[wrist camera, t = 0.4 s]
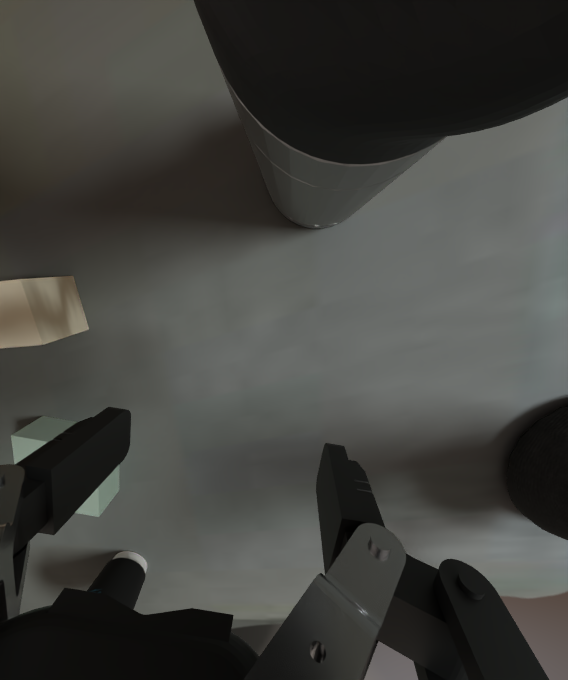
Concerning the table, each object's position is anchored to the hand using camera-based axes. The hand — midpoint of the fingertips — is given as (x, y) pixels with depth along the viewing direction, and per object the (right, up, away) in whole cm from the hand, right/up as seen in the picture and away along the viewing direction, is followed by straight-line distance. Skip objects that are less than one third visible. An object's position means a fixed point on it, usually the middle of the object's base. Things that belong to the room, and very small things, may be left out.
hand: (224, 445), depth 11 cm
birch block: (-21, +8, +17) cm, 28 cm away
